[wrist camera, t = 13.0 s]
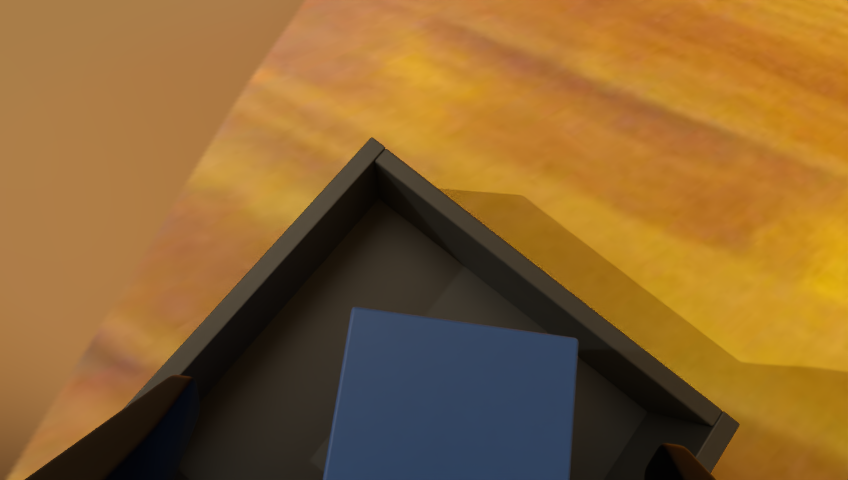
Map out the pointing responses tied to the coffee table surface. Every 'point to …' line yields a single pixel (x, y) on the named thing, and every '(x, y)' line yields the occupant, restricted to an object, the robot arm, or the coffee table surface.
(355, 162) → the dark open-top box
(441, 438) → the blue block
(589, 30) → the coffee table surface
